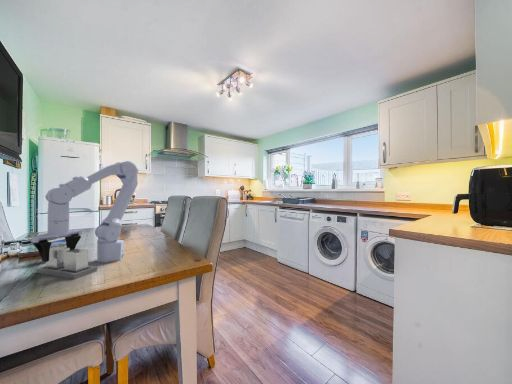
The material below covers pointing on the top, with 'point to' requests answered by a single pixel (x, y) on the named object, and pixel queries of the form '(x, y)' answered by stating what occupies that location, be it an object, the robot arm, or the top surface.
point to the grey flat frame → (66, 274)
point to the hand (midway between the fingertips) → (58, 258)
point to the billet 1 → (56, 258)
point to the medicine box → (57, 243)
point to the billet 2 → (75, 260)
